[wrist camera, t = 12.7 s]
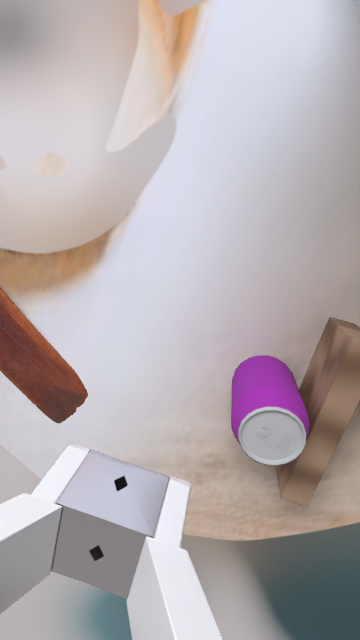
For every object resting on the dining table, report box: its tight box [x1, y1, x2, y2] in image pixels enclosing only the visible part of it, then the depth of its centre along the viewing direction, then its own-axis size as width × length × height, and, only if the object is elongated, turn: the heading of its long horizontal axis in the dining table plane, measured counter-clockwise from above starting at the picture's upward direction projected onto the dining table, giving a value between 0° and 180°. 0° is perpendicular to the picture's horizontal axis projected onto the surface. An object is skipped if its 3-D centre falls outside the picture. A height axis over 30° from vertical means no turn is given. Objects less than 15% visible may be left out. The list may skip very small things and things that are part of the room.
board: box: [275, 317, 360, 507], centre depth 38 cm, size 20×3×8 cm, turn 165°
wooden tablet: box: [0, 288, 88, 423], centre depth 46 cm, size 27×10×2 cm, turn 39°
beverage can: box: [231, 356, 310, 466], centre depth 36 cm, size 8×8×12 cm
